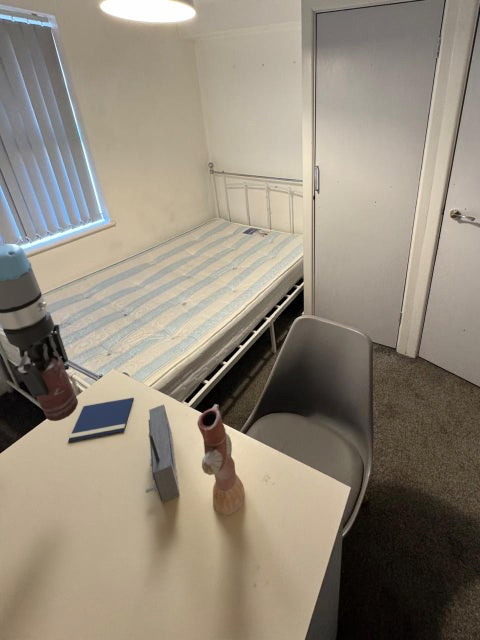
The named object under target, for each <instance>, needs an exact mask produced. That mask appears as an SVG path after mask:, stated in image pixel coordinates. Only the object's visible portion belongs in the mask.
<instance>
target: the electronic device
mask: <svg viewBox="0 0 480 640" xmlns="http://www.w3.org/2000/svg"><path fill="white" fill-rule="evenodd" d="M148 413H149V415H148V416H149V419H148V437H149V450H150V452H149V453H150V468H151V475H152V476H151V478H152V481H153V482H154V483H153V484H152V485H151V486H149V487H147V488H145V493H146V494H148V493H150V492H153V491H157V494H158V497H159V500H160V502H161V503H165V502H167V501H169V500H172V499H173V498H176V497H178V496H180V488H179V481H178V473H177V465H176V464H177V463H176V457H175V451H174V450H175V448H174V443H173V435H172V434H173V433H172V428H171V425H170V421H169V417H168V414H167V410H166V406H165V404H161V405H158V406H155V407H153V408H151V409H149V410H148Z"/></svg>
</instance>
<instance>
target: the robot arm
mask: <svg viewBox="0 0 480 640" xmlns="http://www.w3.org/2000/svg"><path fill="white" fill-rule="evenodd" d="M51 315H52V314H51V312H50V311H49V308H48V305H47V302H45V299H44V297H43V293H42V291H41V288H40V285H39V283H38V280H37V277H36V275H35V272H34V270H33V268H32V262H31V261H30V260H29V259H28V257H27V255H26V252H25V251H24V249H23V248H22V247H21V246H20V245H17V244H14V243H5V244H0V327H1V328H2V331H3V333H4V336H5V337H6V339H7V341H8V343H9V344H10V345H12V346H14V347H16V348H18V351H19V357H20V358H21V360H20V363H19V364H17V365H14V367H13V372H14V373H15V374H17V375H19V376H20V378H21V380H22V381H23V383H24V385H25V387H26V388H27V390H28V391H29V393H30V394H31V396H32V398H37V397H40V396H47V395H48V394H49V390H48V388H47V385H46V384H45V382H44V380H43V378H42V377H41V375H40V373H39V371H43V370H46V369H47V367H48V363H47V361H48V360H49V357H48V356H51V355H54V356H57V357H58V358H60V359H61V360H62V363H63V365H64V368H65V370H66V371H67V370H69V369H70V364H66V363H68V361H69V356H68V355H67V351H66V348H65V345H64V342H63V338H62V336H61V332H60V325H59V324H57V323H56V324H55V323H54V320H53V318H52V316H51ZM41 369H43V370H41Z"/></svg>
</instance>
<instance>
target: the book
mask: <svg viewBox="0 0 480 640" xmlns="http://www.w3.org/2000/svg"><path fill="white" fill-rule="evenodd" d="M134 400H135V398H134V397H129V398H123V399H117V400H111V401H106V402H100V403H95V404H88V405H84V406H82V409H81V411H80V413H79V416H78V417H77V420H76V423H75V425H74V427H73V429H72V432H71V433H70V434H69V437H68V439H67V442H68V443H73V442H79V441H84V440H89V439H94V438H95V439H96V438H99V437H105V436H110V435H114V434H120V433H125V430H126V427H127V424H128V419H129V417H130V413H131V409H132V406H133V403H134Z"/></svg>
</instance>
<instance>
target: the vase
mask: <svg viewBox="0 0 480 640" xmlns="http://www.w3.org/2000/svg"><path fill="white" fill-rule="evenodd" d="M219 409H220V406H219V404H216V403H215V404H214V405H213V406H212V407H211V408H208V409H207V410H205V411H203V412H202V413H201V414H200V415H199V416H198V418H197V424H196V425H197V427H198V429H199V431H200V433H201V436H202V439H203V447H204V455H203V458H202V460H201V468H202V471H203V473H204V474H206V475H208V476H213V475H214V480H215V482H214V484H213V488H212V507H213V509H214V510H215V511H216V512H217V513H218V514H221V515H225V516H229V515H231V514H233V513H236V512H237V511H238V510H239V509H240V508H241V507H242V505H243V503H244V502H243V501H244V497H245V487H244V484H243V482H242V480H241V479H240V478H239V476H238V475H237V473H236V464H235V460H234V459H233V457H232V451H233V444H232V439H231V436H230V435H229V434H228V433H227V432H226V428H225V424H224V422H223V418H222V414H221V412H220V411H219Z"/></svg>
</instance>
